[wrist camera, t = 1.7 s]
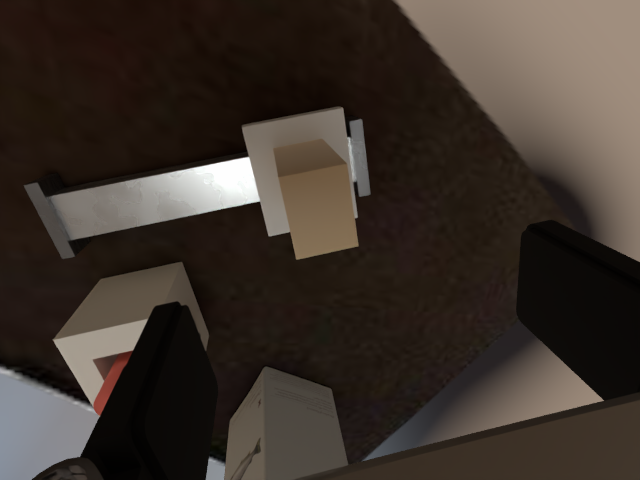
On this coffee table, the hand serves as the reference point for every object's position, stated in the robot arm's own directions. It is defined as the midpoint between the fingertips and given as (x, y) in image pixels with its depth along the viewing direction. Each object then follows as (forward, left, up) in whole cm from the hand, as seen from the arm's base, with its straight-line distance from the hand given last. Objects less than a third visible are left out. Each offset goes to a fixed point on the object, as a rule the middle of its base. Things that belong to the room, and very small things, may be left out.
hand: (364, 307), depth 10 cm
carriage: (0, 0, -17) cm, 17 cm away
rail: (0, -6, -18) cm, 19 cm away
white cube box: (+9, -13, -18) cm, 24 cm away
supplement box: (+22, -6, -18) cm, 29 cm away
